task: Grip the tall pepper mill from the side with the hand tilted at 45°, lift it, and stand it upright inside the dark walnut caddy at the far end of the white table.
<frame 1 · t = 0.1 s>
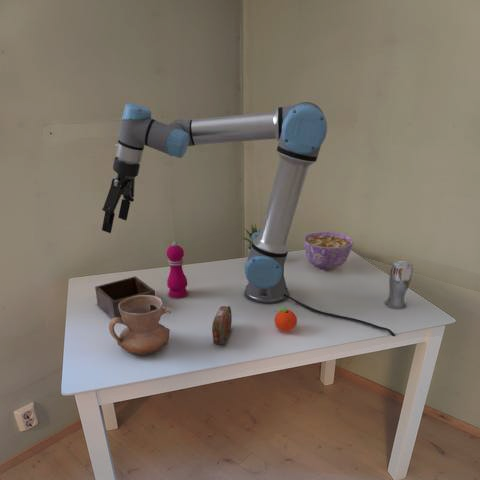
hand: (114, 225, 145), 28 cm above the table, tool tilted 20°, fingers open, 13 cm apart
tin: (222, 337, 139), on the table
pepper mill: (178, 294, 165), on the table
bowl of food: (325, 266, 189), on the table
clementine: (283, 330, 143), on the table
house plant: (256, 263, 192), on the table
beer glass: (395, 304, 158), on the table
caddy: (127, 306, 156), on the table
ceramic jug: (143, 347, 134), on the table
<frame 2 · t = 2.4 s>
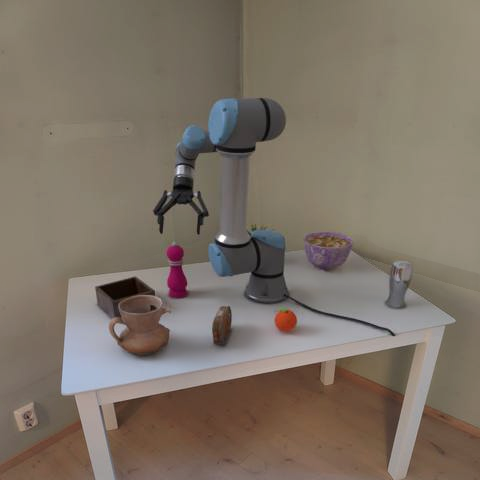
hand: (179, 232, 164), 20 cm above the table, tool tilted 45°, fingers open, 13 cm apart
nothing on the table moved.
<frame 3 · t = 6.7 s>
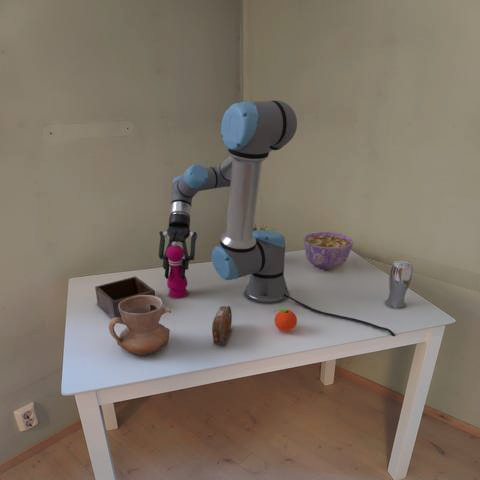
hand: (174, 277, 157), 8 cm above the table, tool tilted 45°, fingers closed on pepper mill, 5 cm apart
pepper mill: (178, 294, 165), on the table, touching gripper
everything else where it was.
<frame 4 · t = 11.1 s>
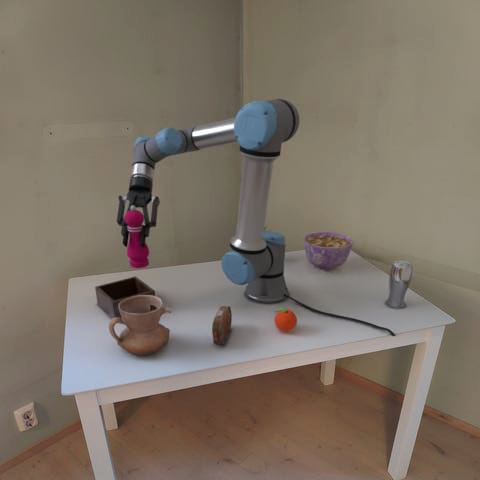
hand: (133, 245, 145), 22 cm above the table, tool tilted 45°, fingers closed on pepper mill, 5 cm apart
pepper mill: (139, 265, 152), point 14 cm above the table, touching gripper
everything else where it was.
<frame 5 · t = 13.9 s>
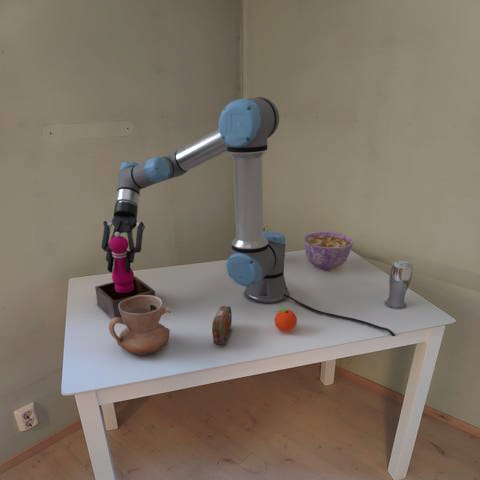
hand: (118, 270, 146), 15 cm above the table, tool tilted 45°, fingers closed on pepper mill, 5 cm apart
pepper mill: (124, 289, 153), point 6 cm above the table, touching gripper
everything else where it was.
when the fingers open (9 cm above the table, at t = 15.8 s): pepper mill stays where it is, resting on caddy.
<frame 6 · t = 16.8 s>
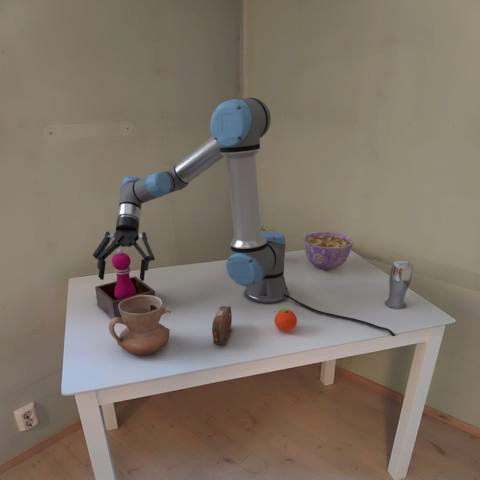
hand: (121, 278, 148), 11 cm above the table, tool tilted 45°, fingers open, 13 cm apart
pepper mill: (126, 304, 156), point 1 cm above the table, touching caddy
everything else where it was.
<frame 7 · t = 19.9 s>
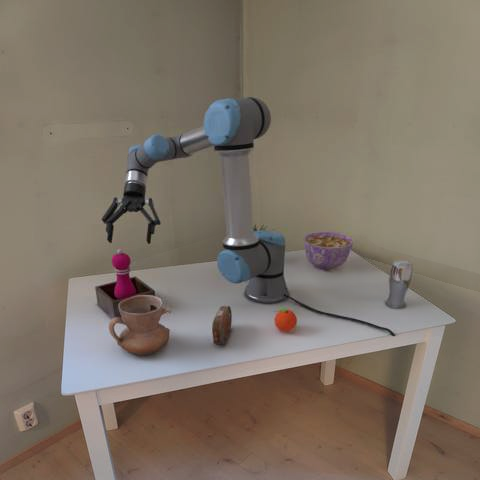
hand: (128, 241, 156), 20 cm above the table, tool tilted 45°, fingers open, 13 cm apart
nothing on the table moved.
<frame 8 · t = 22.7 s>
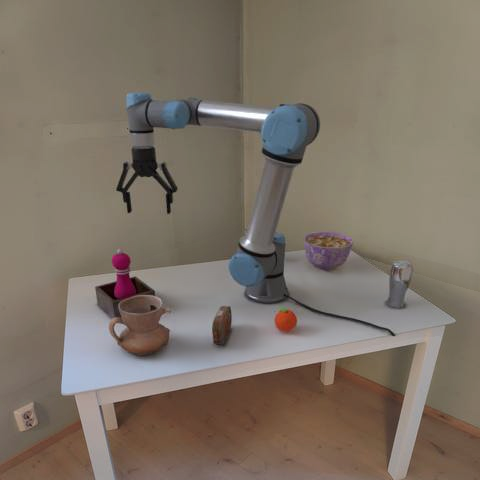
hand: (149, 212, 155), 29 cm above the table, tool pointing down, fingers open, 13 cm apart
nothing on the table moved.
at the end: pepper mill inside the target area in the caddy (0.1 cm from its centre), point 0.6 cm above the caddy's base; pepper mill tilted 0°; the gripper is holding nothing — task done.
